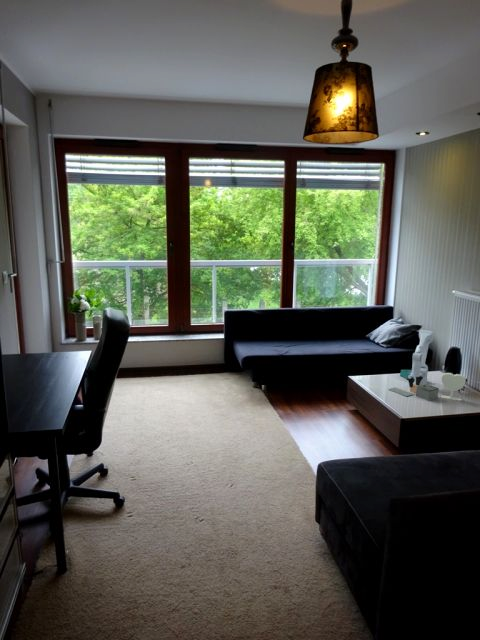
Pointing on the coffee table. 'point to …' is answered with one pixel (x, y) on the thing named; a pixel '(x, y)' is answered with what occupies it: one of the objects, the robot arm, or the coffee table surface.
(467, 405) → the coffee table surface
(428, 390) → the dispenser
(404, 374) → the teal l-shaped bracket
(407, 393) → the slate mat
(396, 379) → the coffee table surface
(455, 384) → the heart sculpture
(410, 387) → the tall tan wooden post
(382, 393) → the coffee table surface
